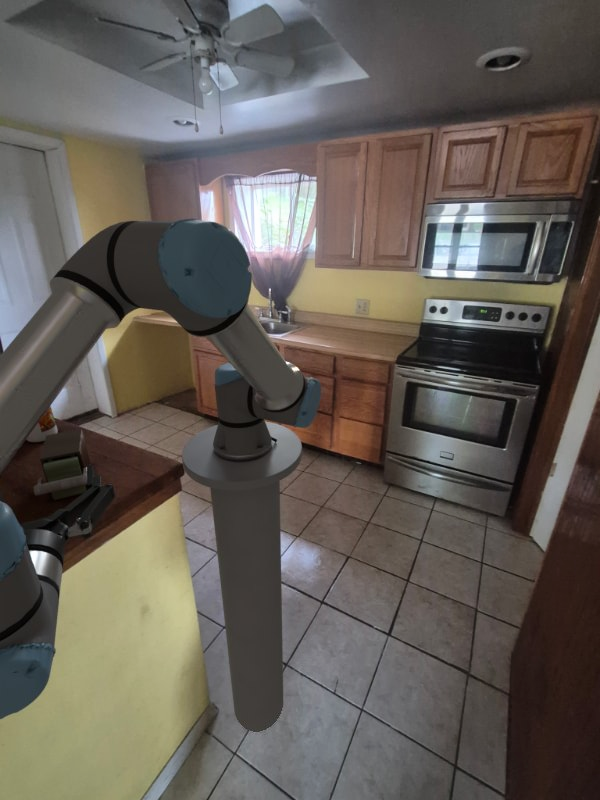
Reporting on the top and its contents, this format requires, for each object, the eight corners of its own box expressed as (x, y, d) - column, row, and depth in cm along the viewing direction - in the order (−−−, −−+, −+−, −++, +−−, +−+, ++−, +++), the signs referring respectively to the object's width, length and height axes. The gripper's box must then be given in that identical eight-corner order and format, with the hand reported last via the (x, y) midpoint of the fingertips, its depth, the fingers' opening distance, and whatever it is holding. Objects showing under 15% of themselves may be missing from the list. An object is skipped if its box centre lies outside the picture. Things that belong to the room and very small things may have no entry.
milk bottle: (32, 445, 100) (10, 376, 92) (21, 437, 104) (-1, 370, 96) (63, 435, 106) (44, 368, 98) (51, 427, 110) (32, 363, 102)
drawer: (93, 504, 77) (84, 469, 74) (42, 517, 73) (30, 481, 70) (94, 467, 90) (86, 435, 86) (50, 476, 86) (40, 444, 83)
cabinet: (90, 490, 83) (79, 451, 78) (52, 499, 80) (39, 459, 76) (91, 465, 92) (81, 428, 88) (57, 472, 89) (46, 435, 85)
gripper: (-96, 636, 42) (-39, 520, 59) (140, 560, 52) (130, 480, 70) (-125, 589, 39) (-56, 481, 56) (131, 518, 49) (122, 446, 67)
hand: (47, 480), depth 63 cm, fingers open, 13 cm apart
